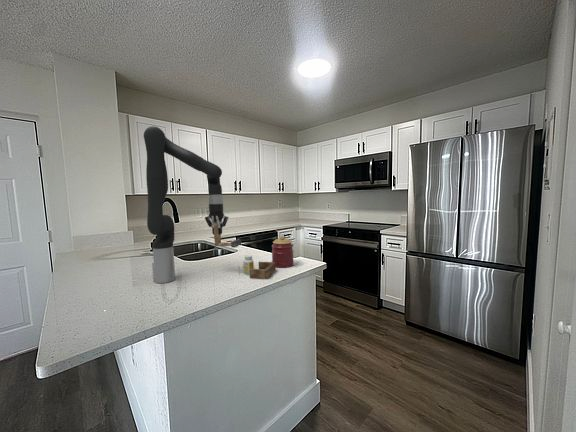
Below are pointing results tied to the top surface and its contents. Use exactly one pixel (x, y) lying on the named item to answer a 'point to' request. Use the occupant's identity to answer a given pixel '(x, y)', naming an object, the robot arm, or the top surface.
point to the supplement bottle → (248, 264)
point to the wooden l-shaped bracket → (219, 243)
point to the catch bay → (263, 270)
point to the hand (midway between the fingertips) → (217, 234)
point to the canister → (282, 252)
